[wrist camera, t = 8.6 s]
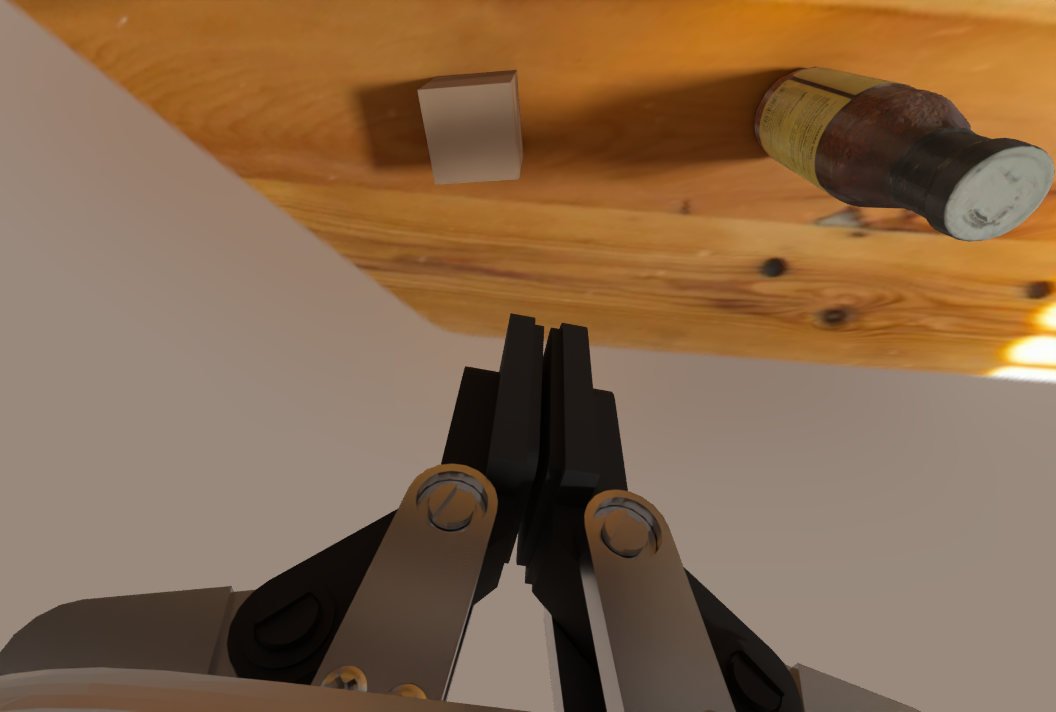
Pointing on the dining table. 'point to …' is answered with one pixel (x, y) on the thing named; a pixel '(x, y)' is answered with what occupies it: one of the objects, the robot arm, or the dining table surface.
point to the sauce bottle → (900, 152)
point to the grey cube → (473, 127)
